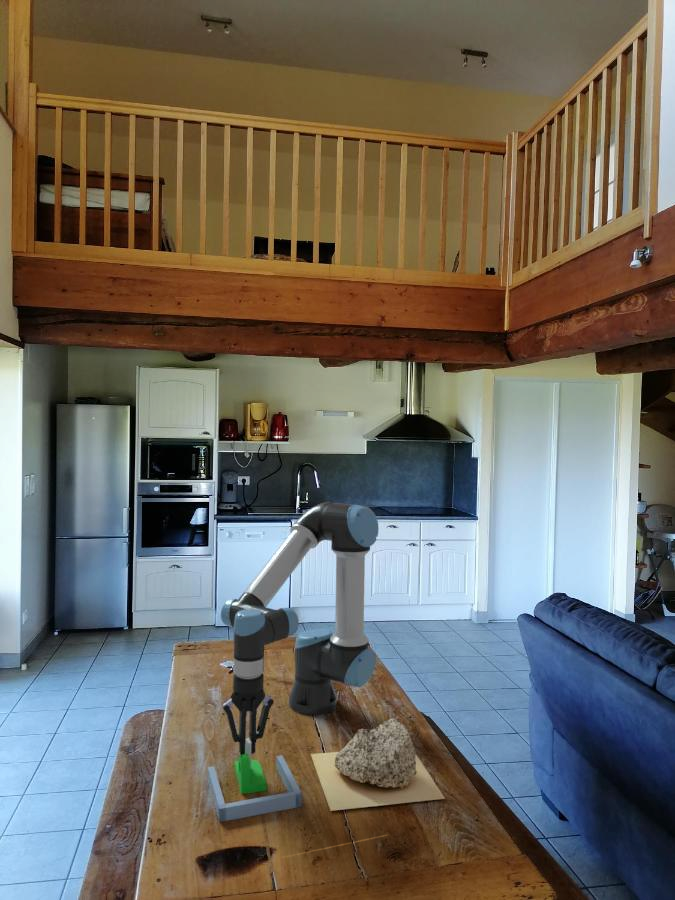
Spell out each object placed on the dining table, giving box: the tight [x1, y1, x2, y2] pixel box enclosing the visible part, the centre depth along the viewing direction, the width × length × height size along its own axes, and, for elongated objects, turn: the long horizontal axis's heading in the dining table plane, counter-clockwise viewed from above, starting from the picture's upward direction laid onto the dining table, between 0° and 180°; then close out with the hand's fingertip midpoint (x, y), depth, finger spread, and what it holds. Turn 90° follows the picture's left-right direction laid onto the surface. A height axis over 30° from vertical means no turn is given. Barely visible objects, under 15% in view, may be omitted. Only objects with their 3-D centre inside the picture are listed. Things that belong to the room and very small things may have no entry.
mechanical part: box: [234, 754, 267, 795], centre depth 156 cm, size 12×6×8 cm, turn 17°
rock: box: [310, 718, 446, 812], centre depth 157 cm, size 28×22×16 cm
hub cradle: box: [207, 755, 303, 823], centre depth 151 cm, size 19×18×3 cm
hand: (246, 766), depth 158 cm, fingers closed, pressing on mechanical part
